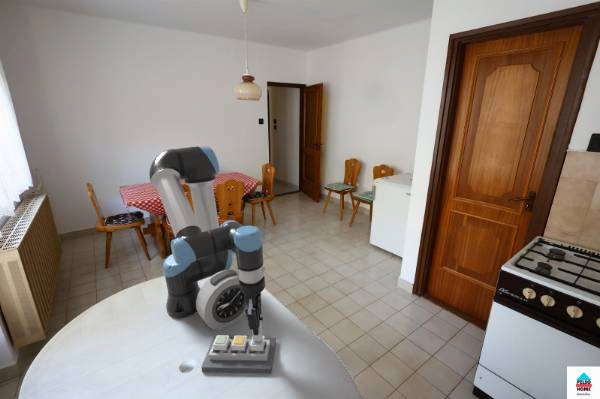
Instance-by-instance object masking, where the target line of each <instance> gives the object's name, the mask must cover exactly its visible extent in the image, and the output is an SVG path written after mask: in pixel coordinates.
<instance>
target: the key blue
mask: <svg viewBox="0 0 600 399" xmlns="http://www.w3.org/2000/svg"><path fill="white" fill-rule="evenodd" d="M251 337H252V340H251V344H250V349H251V351H263V348H264V343H265V338H266V337H265V335H262V340H261V341H253V336H251Z"/></svg>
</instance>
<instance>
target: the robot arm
mask: <svg viewBox="0 0 600 399" xmlns="http://www.w3.org/2000/svg"><path fill="white" fill-rule="evenodd" d="M151 162H152V163H151V164H150V168H149V172H148V173H149V179H150V180H149V181H150V183H151V185H152V187H153V188H154V189H156V190H157V192H158V195H159V198H160V202H161V203H162V207H163V209H164V211H165V214H166V217H167V219H168V222H169V224H170V227H171V230H172V232H173V234H174V235H173V236H174V238H175V239H172V240H171V242H170V248H171V249H170V250H171V253H172V254H170V255H168V256H167V257H166V259H165V260H164V261H163V263H162V268H163V269H162V271H163V272H162V273H163V276H164V279H165V285H166V288H167V294H168V295H167V299H166V305H165V308H166V312H167V314H168V316H170V317H171V316H172V317H171V318H174V317H175V318H176V319H183V318H189V317H190V316H191V317H192V316H193V315H196V314H197V313H198V312H197V309H196V299H197V296H198V293H199V291H200V289H201V287H200V285H199V282H200V281H202V280H206V279H209V278H210V277H211V276H213V275H215V274H216V273H218V272H221V271H224V270H231V268H232V266H233V258H234V257H233V253H234V254H235V256H236V265H237V271H238V277H239V284H240V290H241V292H242V293H243V294H245V295H246V302H247V309H246V310H245V313H246V319H247V323H248V327H249V328H248V329H249V330H251V334H252V336H253V341H261V340H262V336H263V333H262V332H263V331H262V323H261V321H262V322H263V321H264V317H263V316H261V315H262V312H263V311H262V293H263V291H264V290H265V288H266V279H265V278H266V277H265V271H266V270H267V268H266V267H265V266H264V255H263V254H264V252H263V250H264V249H263V238H262V232H261V230H260V229H261V228H259V227H258V226H253V225H243V224H242V223H240V222H238V221H236V220H232V219H228V220H225V221H224V222H223V223H221V224H219V216H218V212H217V211H218V209H217V203H216V199H215V192H214V186H213V184H214V182H216V175H218V174H219V173H220V164H219V161H218V158H217V155H216V153H215V151H214V150H213V149H212V147H210V146H207V145H201V146H200V145H197V146H190V147H179V148H170V149H166V150H163V151H161V152H160V153H158V155H156V157H155V158H154V159H153V161H151ZM181 180H182V181H183V180H184V183H185V185H186V186H188V187H189V189H190V194H191V200H192V206H193V207H192V206H191V203H190V202H189V199H188V197H187V195H186V193H185V191H184V189H183V185H182V183H181ZM252 336H251V337H252Z"/></svg>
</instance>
